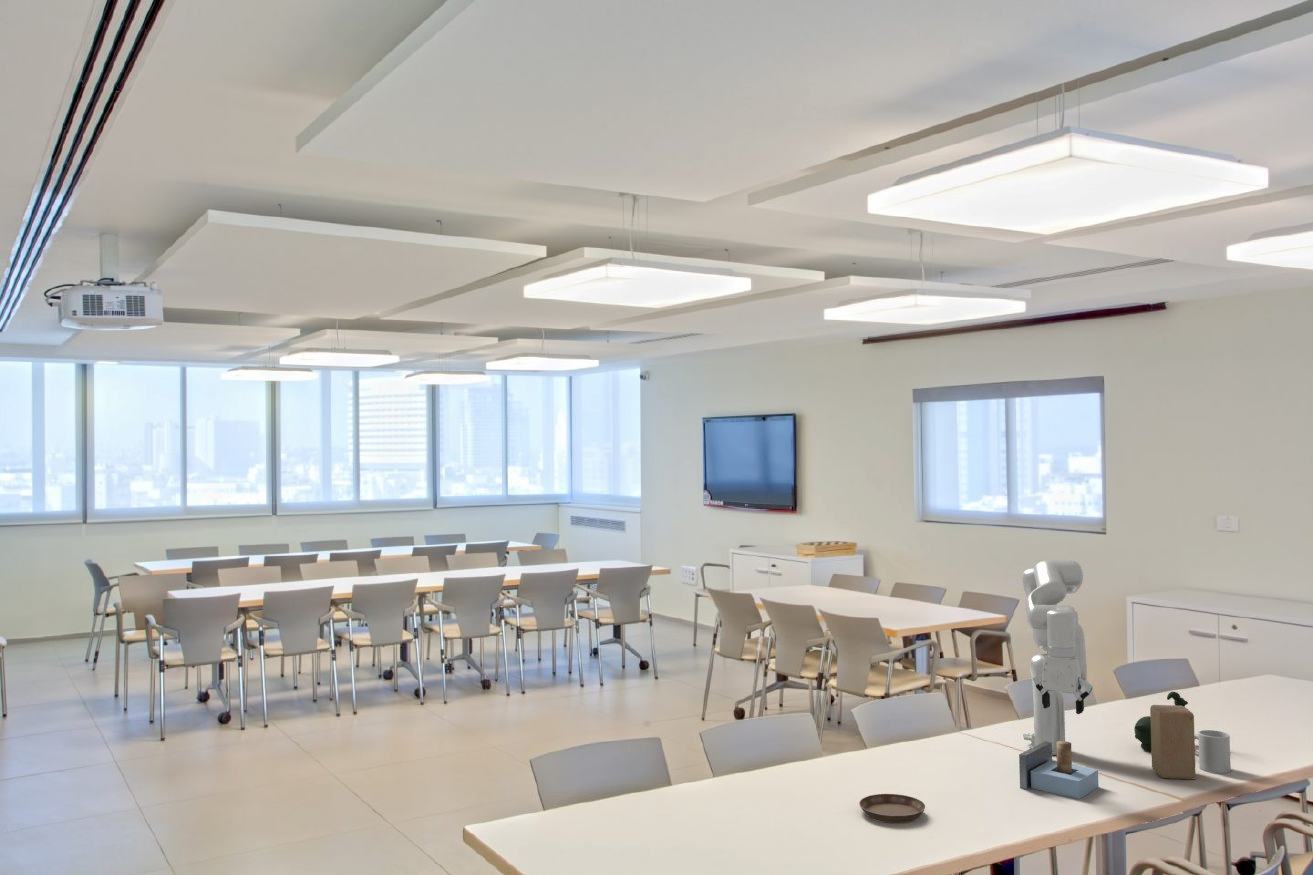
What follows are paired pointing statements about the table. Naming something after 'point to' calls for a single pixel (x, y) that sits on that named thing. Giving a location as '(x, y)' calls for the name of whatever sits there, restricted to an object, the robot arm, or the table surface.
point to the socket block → (1064, 780)
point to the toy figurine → (1144, 723)
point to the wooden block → (1172, 741)
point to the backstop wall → (1033, 761)
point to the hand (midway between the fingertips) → (1062, 710)
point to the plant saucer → (892, 808)
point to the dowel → (1064, 757)
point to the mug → (1213, 751)
